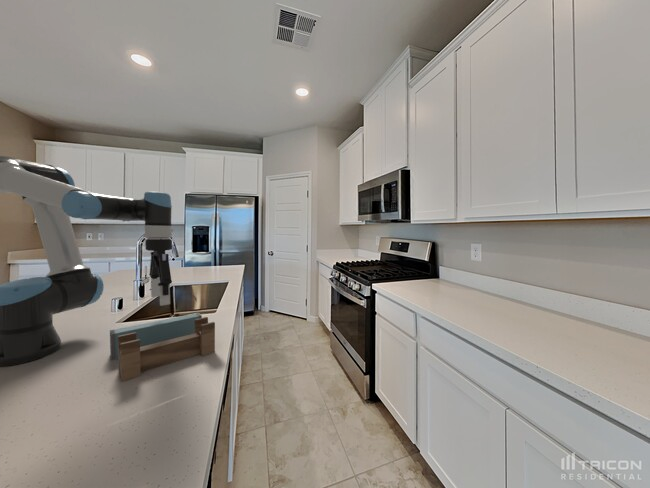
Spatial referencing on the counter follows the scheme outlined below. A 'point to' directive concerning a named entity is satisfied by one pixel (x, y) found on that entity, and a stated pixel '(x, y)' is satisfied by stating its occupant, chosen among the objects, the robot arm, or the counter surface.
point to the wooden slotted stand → (163, 349)
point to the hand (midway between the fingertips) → (160, 300)
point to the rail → (155, 331)
